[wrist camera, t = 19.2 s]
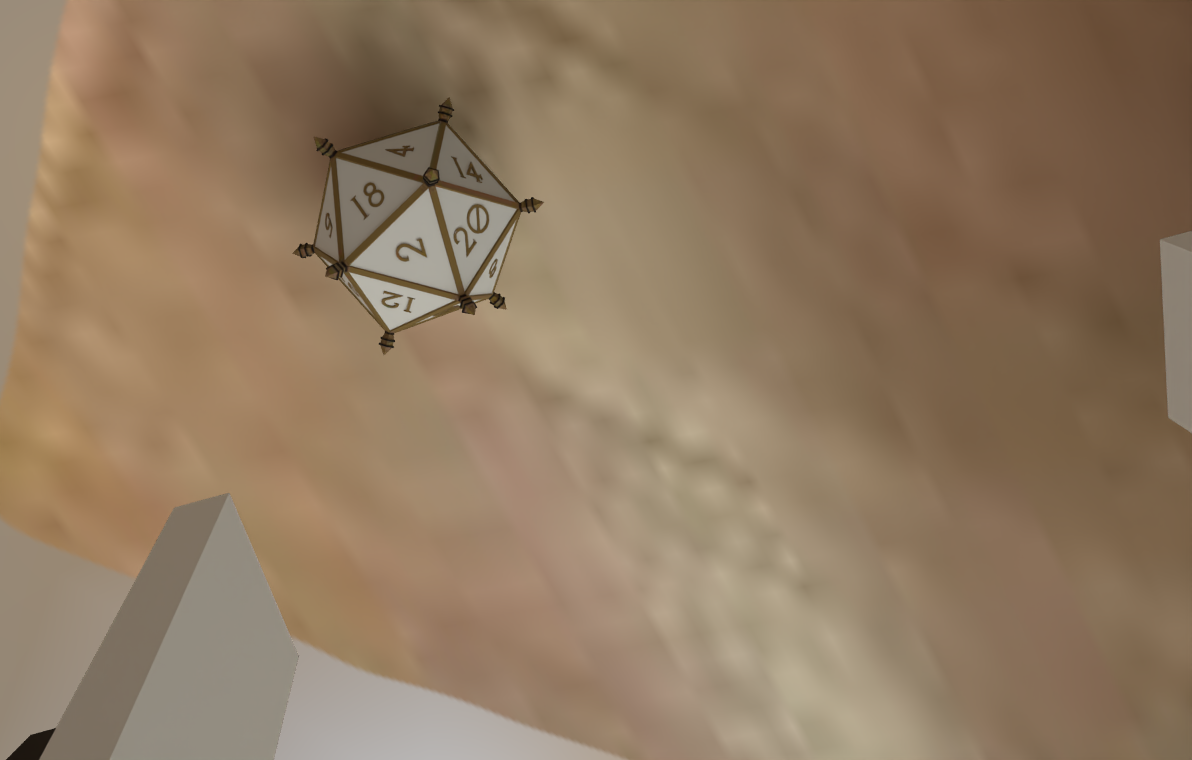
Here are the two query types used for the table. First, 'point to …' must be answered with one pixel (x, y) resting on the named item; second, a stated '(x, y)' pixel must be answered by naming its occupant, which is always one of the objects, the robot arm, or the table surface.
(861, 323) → the table surface
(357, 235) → the game die
